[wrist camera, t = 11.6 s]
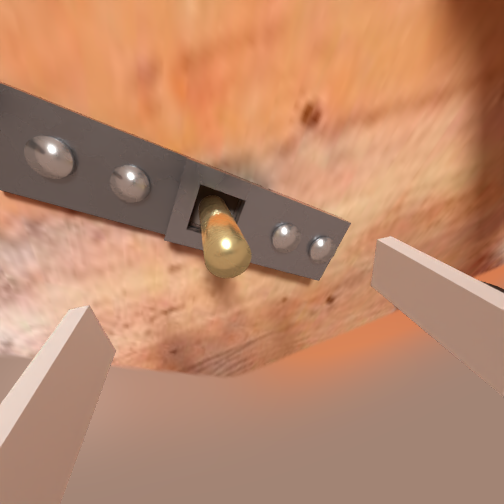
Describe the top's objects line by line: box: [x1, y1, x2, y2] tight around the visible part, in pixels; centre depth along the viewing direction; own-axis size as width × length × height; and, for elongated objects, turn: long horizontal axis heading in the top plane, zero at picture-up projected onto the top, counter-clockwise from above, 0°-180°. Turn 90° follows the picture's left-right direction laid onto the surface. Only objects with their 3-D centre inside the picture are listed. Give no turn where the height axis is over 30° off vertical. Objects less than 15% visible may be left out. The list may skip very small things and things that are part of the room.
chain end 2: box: [164, 158, 351, 281], centre depth 26 cm, size 19×8×3 cm, turn 67°
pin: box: [199, 195, 252, 278], centre depth 20 cm, size 3×3×12 cm
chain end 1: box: [0, 82, 264, 235], centre depth 22 cm, size 22×8×2 cm, turn 67°
